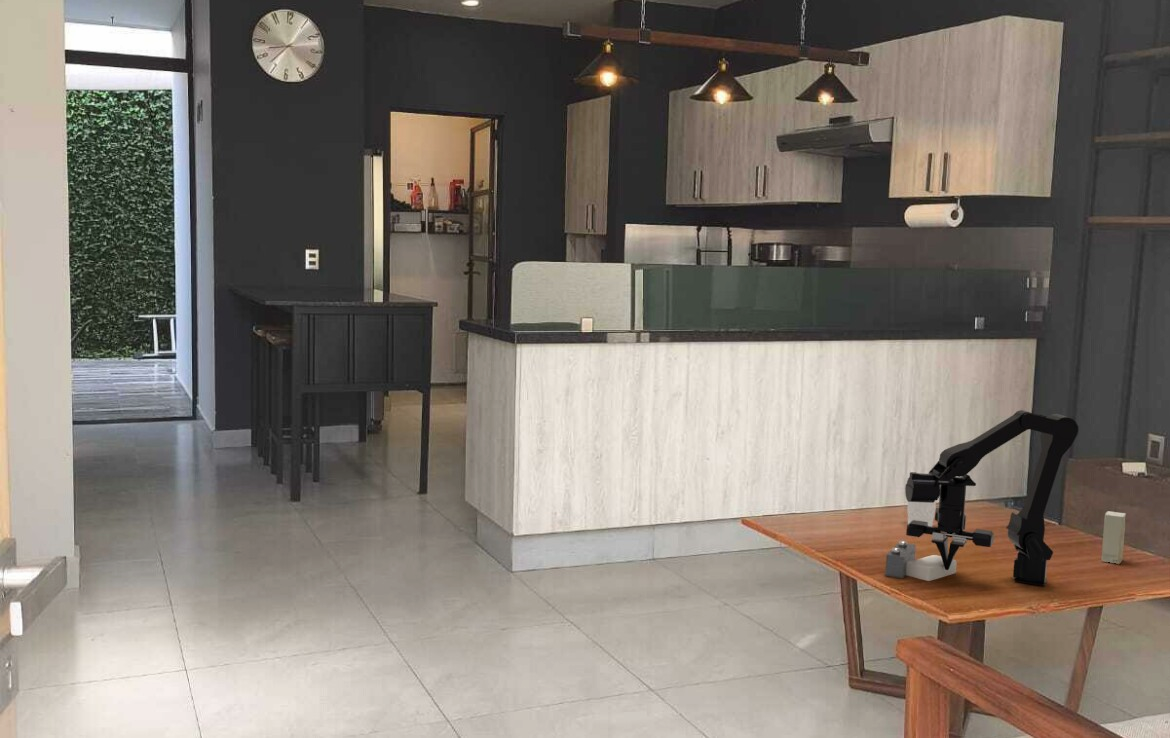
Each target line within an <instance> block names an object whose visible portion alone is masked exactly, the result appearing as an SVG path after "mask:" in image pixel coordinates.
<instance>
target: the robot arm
mask: <svg viewBox="0 0 1170 738" xmlns="http://www.w3.org/2000/svg"><path fill="white" fill-rule="evenodd" d="M1079 428H1080V427H1079V425H1078V424H1077V421H1075V420H1074V418H1071V417H1068V416H1066V415H1062V414H1059V413H1052V414H1050V415H1048V416H1046V415H1042V414H1038V413H1033V412H1030V411H1027V410H1023V409H1021V410H1018V411H1016V412H1015V413H1014V414H1013V415H1011V416H1009V417H1008V418H1006V419H1004V420H1003V421H1001V422H1000V423H998V424H996V425H994V426H993V427H992V428H990V429H988V430H986V431H985V432H983V433H982V434H980V435H978V436H977V437H975V438H973V439H972V440H969V441H966V442H962V443H958V444H955V445H953V446H951V447H947V448H946V449H944V450H943V451H941V453H940V454H939V458H938V461H937V462H936V463H935V464H934V465H933V467H932V468H931V469H930V470H929V471H928V473H919V472H914V471H910V472H909V477H908V478H907V481H906V484H905V487H904V491H905V498H906V501H907V503H908V502H926V503H933V502H934V501H935V500H936V501H938V507H937V506H936V508H935V514H934V520H935V522H937V526H932V527H931V526H928V522H924V521H916V520H913V521H911V522H910V523H909V524H908V523H907V525H906V532H905V535H906V536H908V537H915V538H920V537H922V536H923V535H925V534H926V535H930V536H931V535H932V539H931V543H933V544H935V545H936V547H937V550H938V552H939V555H940V556H941V557H942V561H943V564H944V567H945V570H949V568H950V566H951V563H952V561H953V560H954V558H955V556H956V554H957V551H958V550H959V548H964V547H965V546H966V544H967V543H968V542H967V541H972V543H973V544H974V545H975V546H977V547H979V546H980V547H985V548H986V547H987V548H990V547H992V545H993V544H994V539H995V538H994V537H995V535H994V532H993V531H992V530H989V529H980V528H975V530H974V531H973V532H972V531H967V530H966V523H967V516H966V514H965V510H966V509H965V508H966V496H967V487H976V485H977V483H976V482H975V481H974V480H973V479H972V478H971V476H970V475H969V473H970V472H972V470H974V469H975V468H976V467H977V466H978V465H979V464H980V462H981V460H982V459H983V458H984V457H986V456H987V455H988V454H990V453H991V452H993V451H995V450H996V449H998V448H1000V447H1002V446H1003V445H1004V444H1006V443H1008V442H1009V441H1011V440H1013V439H1015V438H1016V437H1018V436H1020V435H1022V434H1023V433H1024V432H1026V431H1028V430H1031V431H1036V432H1039V433H1040V434H1039V435H1040V437H1039V438H1040V445H1041V446H1040V448H1041V449H1040V450H1041V451H1040V453H1039V456H1038V457H1039V458H1038V460H1037V463H1036V467H1035V470H1034V472H1033V476H1032V479H1031V482H1030V486H1029V489H1028V492H1027V495H1026V498H1025V501H1024V503H1023V504H1024V505H1023V507H1022V509H1021V510H1020V511H1019V512H1018V513H1015V512H1011V514H1010V518H1009V522H1008V525H1007V526H1006V530H1007V537H1008V539H1009V541H1010V542H1011V543H1012V544H1013V545H1014V549H1015V551H1017V552H1018V553H1017V556H1016V557H1015V559H1014V560H1013V561H1014V562H1013V573H1012V577H1013V578H1014V580H1013V581H1014V582H1016V583H1022V584H1030V585H1035V586H1040V587H1044V586H1045V585H1046V582H1047V567H1048V565H1047V564H1048V561H1050V560H1051V559H1052V556H1053V554H1054V551H1053V550H1052V549H1051V548H1050V547H1049V545H1048V544H1046V542H1045V541H1044V540H1045V539H1044V538H1045V532H1046V526H1045V525H1046V523H1045V512H1046V509H1047V506H1048V503H1049V500H1050V497H1051V494H1052V491H1053V488H1054V484H1055V481H1056V478H1057V475H1058V472H1059V469H1060V465H1061V463H1062V460H1063V457H1064V456H1065V454H1066V453H1067V452H1068V451H1069V450H1070V449H1071V448H1072V446H1073V445H1074V443H1075V441H1076V439H1077V436H1079V435H1078V434H1079V431H1080V429H1079ZM965 530H966V531H965ZM949 538H952V540H951V542H950V543H949Z"/></svg>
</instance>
